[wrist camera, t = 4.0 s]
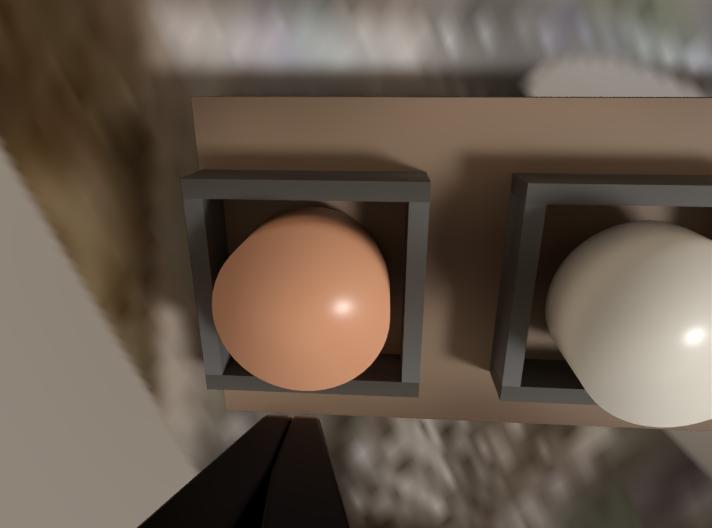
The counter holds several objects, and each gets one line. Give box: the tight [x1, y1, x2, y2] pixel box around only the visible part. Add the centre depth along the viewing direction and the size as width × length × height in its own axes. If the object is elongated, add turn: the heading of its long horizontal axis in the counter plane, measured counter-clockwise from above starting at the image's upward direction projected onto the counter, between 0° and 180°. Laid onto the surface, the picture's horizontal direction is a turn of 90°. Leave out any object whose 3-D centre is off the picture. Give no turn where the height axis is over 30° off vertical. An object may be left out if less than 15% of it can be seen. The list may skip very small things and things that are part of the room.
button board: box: [180, 96, 712, 431], centre depth 14 cm, size 10×23×4 cm, turn 90°
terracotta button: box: [212, 206, 390, 391], centre depth 13 cm, size 4×4×2 cm
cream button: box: [545, 220, 712, 427], centre depth 11 cm, size 4×4×2 cm
